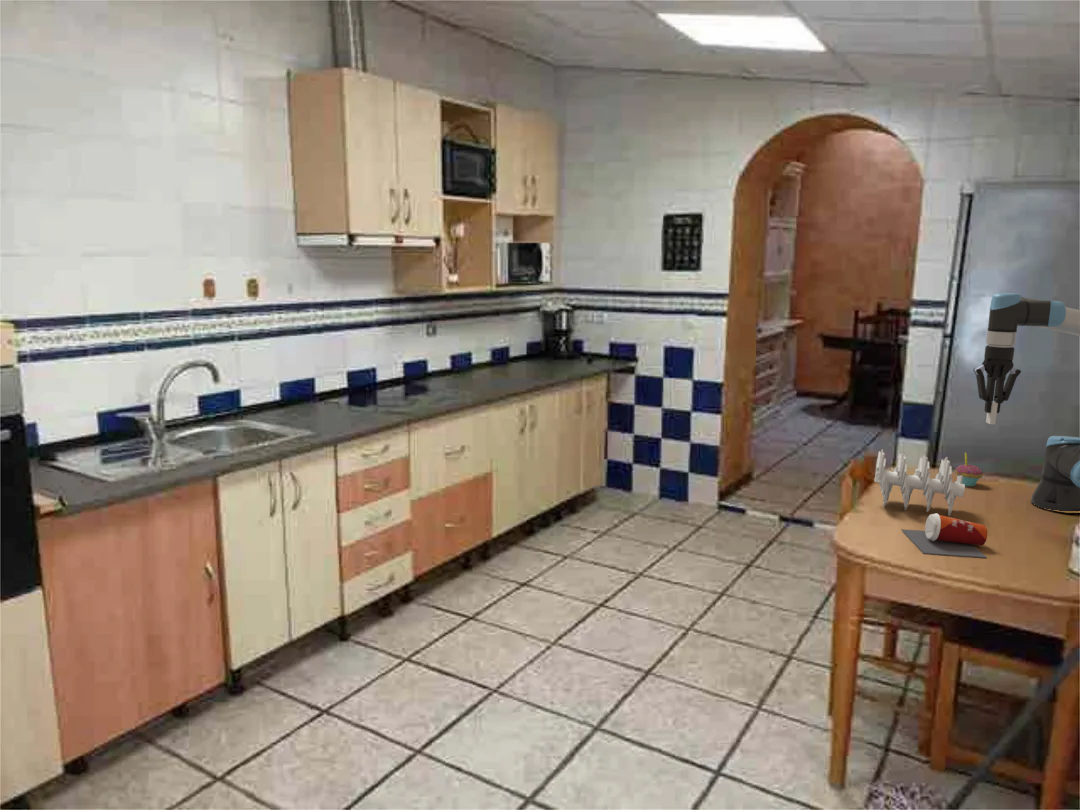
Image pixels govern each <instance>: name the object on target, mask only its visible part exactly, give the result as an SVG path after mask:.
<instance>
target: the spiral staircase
mask: <svg viewBox="0 0 1080 810" xmlns="http://www.w3.org/2000/svg"><path fill="white" fill-rule="evenodd" d="M885 455H886V454H885V452H884V449H883V448H881V451H880V450H879V451H878V454H877V459H876V465H875V475H874V482H875V483H879V485H878V486H879V487H880V488H879V490H881V496H882V502H883V503H882V504H883V506H882V507H885V506H886V505H887V503H888V502H889V499H890V494H891V493H892V490H893V486H897V487H899V490H900V494H902V501H903V508H904V509H903V511H906V510H907V509H908V508H909V506H908V505H909V504H910V500H911V496H912V494H913V491H914V489H915V490H920V491H923V492H922V495H923V496H924V498H925V499H926V511H925V512H926V513H928V512H929V510H930V509H931V506H932V502H933V499H934V496H935V493H936V494H937V493H938V494H941V495H942V494H943V495H944V499H945V501H946V503H947V506H948V511H947V517H951V514H952V512H953V508H954V507H953V506H954V504H955V503H954V502H955V500H956V497H959V498H963V497H964V495H965V490H966V489H965V488H966V486H965V484H962V480H963V476H962V475H961V476H958V475H957V476H956V477H957V478H956V481H954V482H953V476H952V471H953V470H952V469H953V468H952V465H951V461H950V460H948V459H949V458H948V456H945V458H944V459H941V461H940V465H939V468H938V473H936V474H935V478H931V471H930V461H929V458H928V457H927V456H926V453H923V455H922V457H919V461H918V465H917V468H915V471H914V474H907V470H908V469H907V468H908V462H906V460H907V458H906V455H905V452H902V453H899V455H898V460H897V466H896V467H894V468H893V471H890V470H887V469H886V462H887V457H885Z"/></svg>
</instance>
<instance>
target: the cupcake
mask: <svg viewBox="0 0 1080 810" xmlns="http://www.w3.org/2000/svg"><path fill="white" fill-rule="evenodd" d="M954 473H955V474H956V475H957V476H961V475H962V476H963V480H962V484H965V487H968V486H974V487H975V486H976V484H977V483H978V481H979V479H982V478H983V477H984V473H983V470H982V469H981V468H980V467H978V466H977V465H973V464H968V453H967V451H966V450H965V451H964V464H960V465H957V467H955V470H954Z"/></svg>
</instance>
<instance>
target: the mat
mask: <svg viewBox="0 0 1080 810" xmlns="http://www.w3.org/2000/svg"><path fill="white" fill-rule="evenodd" d="M901 530H902V531H903V532H902V531H901ZM900 531H901V532H902V533H903V534H904V535H905V536H906V538H908V539H909V540H910V542H912V544H913V545H914V544H915V545H916V546H915V547H916V548H917V549H918V550H919V551H920V552H921V553H922V554H923V555H933V556H934V555H935V556H947V557H948V556H949V557H950V556H951V557H960V558H961V557H963V558H964V557H965V558H975V559H976V558H979V559H987V556H986V554H984V553H983V552H982V551H980V550H979V549H978V548H977V547H976V545H971V544H963V543H954V542H946V541H938V540H935V541H932V540H931V539H928V538H927V537H926V534H925V530H918V529H902V528H901V529H900Z"/></svg>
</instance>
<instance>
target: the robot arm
mask: <svg viewBox="0 0 1080 810" xmlns="http://www.w3.org/2000/svg"><path fill="white" fill-rule="evenodd" d="M1065 305H1066V304H1065V303H1064V302H1062V301H1060V300H1041V299H1033V298H1028V297H1027V298H1026V297H1023V296H1022V295H1021V294H1020V293H1017V292H1016V293H1013V292H995V293H994V294H993V295H992V297H991V301H990V306H989V312H988V313H989V314H988V315H989V316H988V324H987V332H986V339H985V340H986V341H985V343H986V344H987V345H986V346H984V347H985V348H984V357H983V358H984V360H983V362H982V363H981V365H980V366H978V367H974V368H973V373H974V374H975V376H976V384H977V391H978V392H977V393H978V398H979V399H980V400H982V401H984V402H985V403H984V413H986V419H985V423H987V424H989V425H996V422H997V414H999V413H1000V411H1001V404H1002V403H1004V402H1005V401H1006V402H1007V401H1009V399H1010V396H1011V394H1012V390H1013V388H1014V385H1015V383H1016V380H1017V378H1018V376H1020V375H1021V372H1022V370H1021V369H1019V368H1016V367H1015V366H1014V362H1013V360H1014V355H1015V348H1014V346H1015V345H1016V342H1017V341H1016V340H1017V332H1018V331H1017V330H1018V326H1019V327H1024V326H1025V327H1038V328H1043V329H1048V330H1052V331H1055V332H1060V333H1065V334H1069V335H1074V336H1077V337H1080V309H1075V308H1073V307H1072V308H1071V307H1067V306H1065ZM985 373H986V379H987V380H986V379H985V375H984V374H985ZM1007 375H1008V376H1007ZM1006 378H1007V379H1006ZM985 380H986V381H985ZM1031 502H1032V503H1033V504H1035V505H1036V506H1035V505H1034V506H1035V507H1037V506H1039V507H1042V508H1046V509H1051V510H1059V511H1080V437H1077V436H1067V435H1051V436H1049V437H1048V438H1047V442H1046V445H1045V450H1044V459H1043V464H1042V470H1041V478H1040V481H1039V483H1038V484H1037V486H1036V488H1035V489H1034V491H1033V493H1032V495H1031V500H1030V503H1031ZM1032 503H1031V504H1032ZM1033 504H1032V505H1033ZM1039 507H1038V508H1039ZM1042 508H1041V509H1042Z"/></svg>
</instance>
